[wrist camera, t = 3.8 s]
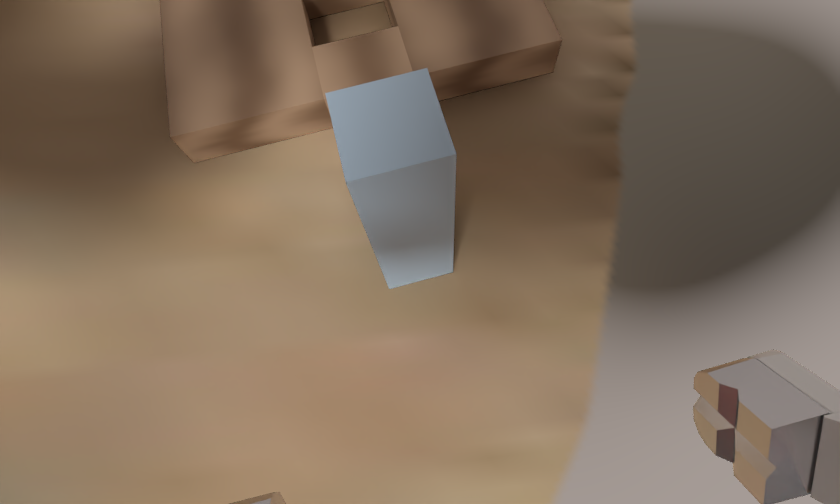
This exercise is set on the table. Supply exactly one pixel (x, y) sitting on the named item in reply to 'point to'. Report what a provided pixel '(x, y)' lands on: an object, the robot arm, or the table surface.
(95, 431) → the table surface
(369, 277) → the table surface
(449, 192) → the square peg
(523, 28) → the wooden square hole board
